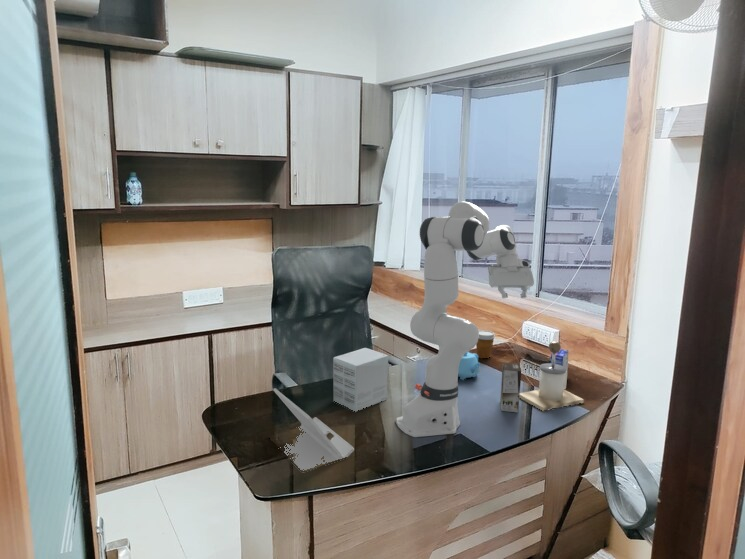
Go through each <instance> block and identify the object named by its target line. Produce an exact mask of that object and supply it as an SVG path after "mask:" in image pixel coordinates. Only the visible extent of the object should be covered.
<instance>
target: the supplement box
mask: <svg viewBox="0 0 745 559" xmlns="http://www.w3.org/2000/svg"><path fill="white" fill-rule="evenodd" d="M332 359H333V360H332V362H333V363H332V364H333V369H332V370H333V371H332V372H333V373H332V374H333V377H332V378H333V402H334V401H335V402H337V403H339V404H341V405H344V406H346V407H348V408H349V409H351V410H353V411H352V412H354V411H355V412H354V413H357V412H359V411H361V410H364V409H366V407H367V408H369V407H371V405H372V406H374V405H376V404H379V403H382V402H384V401H387V400H388V398H389V397H388V391H389V388H388V386H389V385H388V384H389V383H388V382H389V355H388V354H386V353H383V352H380V351H376V350H373V349H371V348H367V347H363V348H360V349H357V350H354V351H350V352H347V353H344V354H340V355H337V356H334V357H333V358H332ZM381 401H382V402H381ZM335 402H334V403H335ZM337 403H336V404H337ZM339 404H338V405H339ZM341 405H340V406H341ZM363 408H364V409H363ZM349 409H348V410H349ZM351 410H350V411H351ZM358 410H359V411H358Z"/></svg>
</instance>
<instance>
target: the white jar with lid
mask: <svg viewBox="0 0 745 559" xmlns="http://www.w3.org/2000/svg"><path fill="white" fill-rule="evenodd" d="M551 365H552V363H551V362H550V363H541V364H540V365H539V369H540V371H539V382H538V390H539V394H538V395H539V397H540V398H542V399H545V400H548V401H560V400H562V399H563V390H567V389H566V388H567V380H568V370H567V371H566V368H565V367H563V366H561V365H558V364H555V368H552V367H551Z"/></svg>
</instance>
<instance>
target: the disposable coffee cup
mask: <svg viewBox="0 0 745 559" xmlns="http://www.w3.org/2000/svg"><path fill="white" fill-rule="evenodd" d="M478 332H479V339H478V342H477V344H476V345H475V347H476V354H477V355H478V358H479V357H480V358H479V359H482V358H488V359H490V358H491V356H492V355H491V354H492V350H493V346H494V345H493V344H494V339H495V337H496V335H495V332H493V331H491V330H484V329H483V330H482V329H481V330H478ZM489 357H490V358H489Z"/></svg>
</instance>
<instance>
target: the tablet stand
mask: <svg viewBox="0 0 745 559" xmlns="http://www.w3.org/2000/svg"><path fill="white" fill-rule="evenodd" d="M272 391H273V392H274V393H275V394H276V395H277V396H278V397H279V399H280V400H281V401H282V402H283V404H285V406H286V407H287V408H288V409H289V411H290V412H291V413H292V415H294V416H295V418H296V419H297V420H298V422H300V424H301V425H300V426H298V428H299V427H300V428H301V429H300V428H299V430H300V431H301V430H302V429H303V430H302V432H303V431H304V433H303V434H302V433H300V435H299V437H298V436H297V437H298V438H297V437H296V438H297V441H298V442H297V441H296V443H297V444H296V443H295V447H294V446H292V445H293V444H292V445H291V444H290V445H291V446H290V445H289V444H287V443H286V445H287V447H288V448H289V449H288V448H287V447H285V446H286V445H285V446H284V448H285V451H284V453H285V454H286V455H287V456H288V455H289V453H291V454H293V453H295V454H296V453H297V454H296V456H295V458H296V459H295V461H294V460H293V461H294V463H295V464H296V465H297V466H298V468H300V470H303V469H304V470H307V469H310V468H314V467H315V466H317V465H316V464H318V465H320V464H321V463H322V464H325V463H326V462H327V463H328V462H332V461H335V460H338V459H342V458H345V457H347V458H348V457H349V456H350V455H351V454H352V453H353V452H354V451H355V448H354V446H353V445H352V444H350V443H349V442H348V441H346V440H345V439H344V438H342V437H341V436H340V435H339V434H338V433H336V432H335V431H334V430H332V429H331V428H330V427H329V426H327V425H326V424H325V423H324V422H322V420H320V419H319V418H318V417H315V416H314V417H313V418H312V417H311V416H310V415H309V414H307V412H305V411H304V410H303V409H301V407H299V406H298V405H296V404H295V403H294V402H293V401H292V400H291V399H289V398H288V397H286V396H285V395H284V394H283V393H282V392H280V391H279V389H278V388H276V387H275V388H273V389H272ZM305 432H306V433H305ZM301 434H302V435H301ZM328 434H332V435H333V437H332V438H331V439H329V438H328V436H327V435H328ZM302 436H303V437H302ZM280 448H281V447H280ZM286 448H287V449H286ZM290 449H291V450H290ZM289 450H290V451H289ZM286 451H287V452H286ZM288 452H289V453H288ZM287 453H288V454H287ZM291 454H290V455H291ZM298 454H299V455H298ZM297 455H298V457H297ZM323 456H324V459H322V460H321V458H322V457H323ZM293 458H294V457H292V459H293ZM290 459H291V458H290ZM323 460H325V462H323ZM298 468H297V469H298ZM300 470H299V471H300ZM304 470H303V471H304Z"/></svg>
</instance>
